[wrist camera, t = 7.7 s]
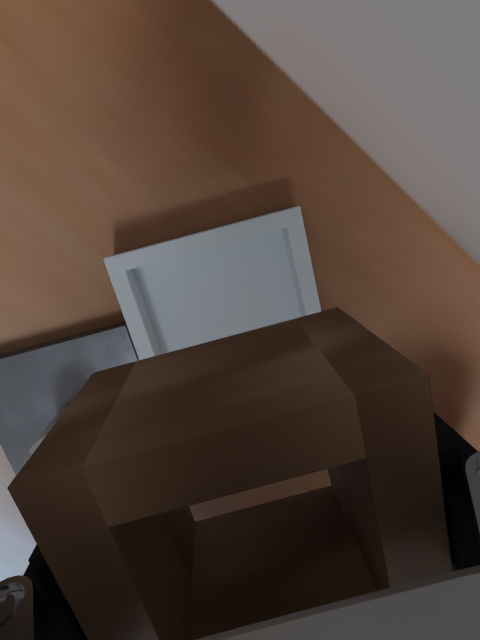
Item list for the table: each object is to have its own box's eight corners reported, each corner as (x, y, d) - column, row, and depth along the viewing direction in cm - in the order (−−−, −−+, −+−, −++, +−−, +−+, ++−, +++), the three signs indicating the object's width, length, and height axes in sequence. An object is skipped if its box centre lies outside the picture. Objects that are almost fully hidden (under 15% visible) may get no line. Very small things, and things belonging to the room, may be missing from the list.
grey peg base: (176, 454, 29) (167, 512, 23) (37, 491, 29) (-6, 559, 23) (129, 320, 26) (105, 350, 20) (-27, 362, 26) (-95, 403, 20)
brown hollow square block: (337, 306, 10) (428, 375, 6) (379, 534, 12) (467, 701, 8) (93, 372, 10) (7, 487, 6) (180, 587, 12) (164, 784, 8)
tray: (325, 371, 28) (336, 385, 25) (169, 413, 28) (164, 431, 25) (291, 207, 24) (300, 206, 22) (113, 254, 24) (103, 258, 22)
